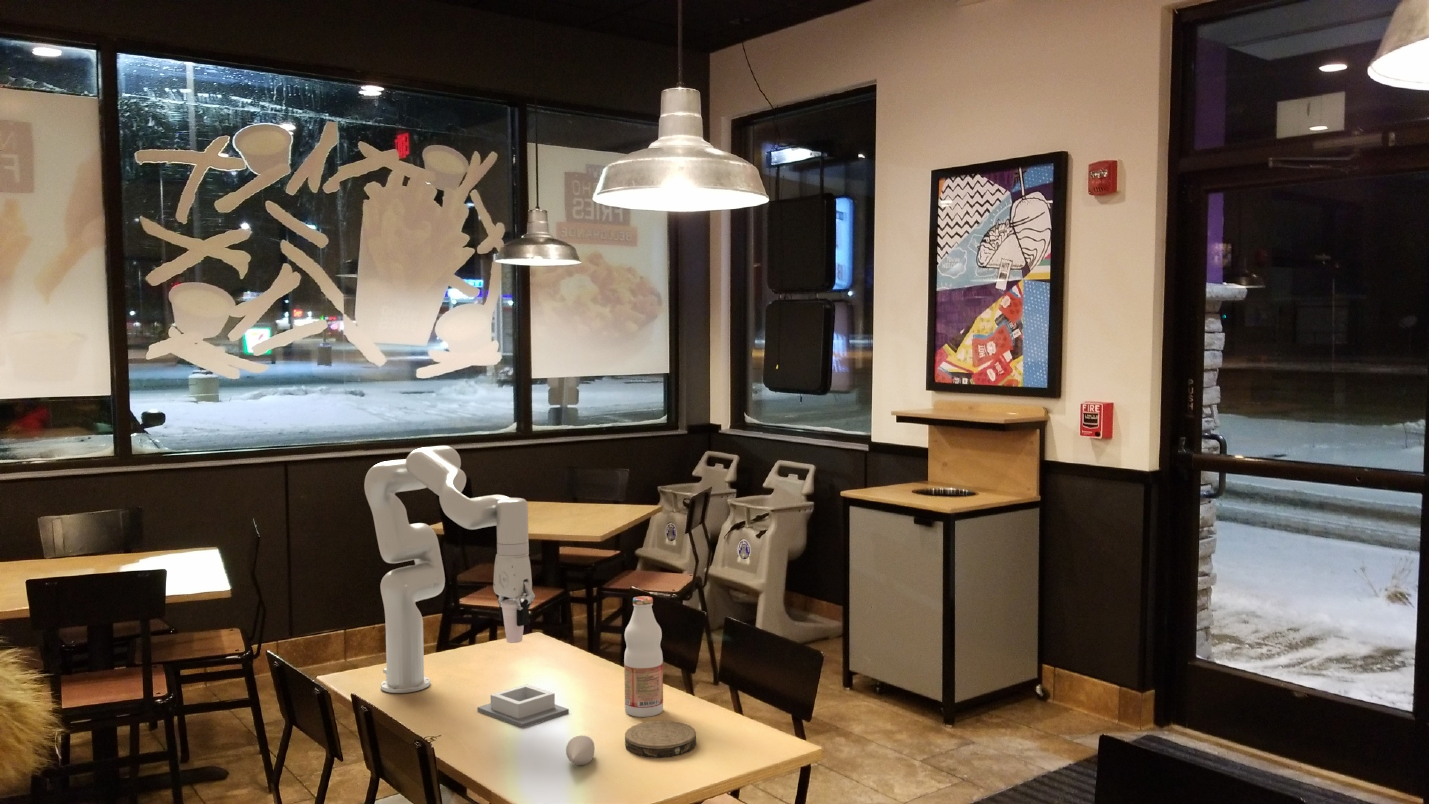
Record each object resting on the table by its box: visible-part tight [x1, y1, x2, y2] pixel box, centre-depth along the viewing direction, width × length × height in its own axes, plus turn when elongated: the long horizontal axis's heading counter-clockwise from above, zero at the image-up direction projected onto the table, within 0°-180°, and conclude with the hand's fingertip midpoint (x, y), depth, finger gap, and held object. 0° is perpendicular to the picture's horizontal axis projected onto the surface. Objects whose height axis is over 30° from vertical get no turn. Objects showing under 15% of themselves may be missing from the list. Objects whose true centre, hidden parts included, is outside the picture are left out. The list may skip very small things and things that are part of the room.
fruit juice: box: [623, 595, 664, 718], centre depth 262 cm, size 9×9×28 cm
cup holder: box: [476, 684, 570, 729], centre depth 262 cm, size 18×14×4 cm
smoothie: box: [501, 598, 525, 644], centre depth 260 cm, size 6×6×14 cm
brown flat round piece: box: [624, 720, 697, 759], centre depth 240 cm, size 16×16×3 cm
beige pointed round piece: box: [565, 735, 596, 766], centre depth 228 cm, size 6×6×15 cm
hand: (514, 622), depth 260 cm, fingers closed on smoothie, 6 cm apart
